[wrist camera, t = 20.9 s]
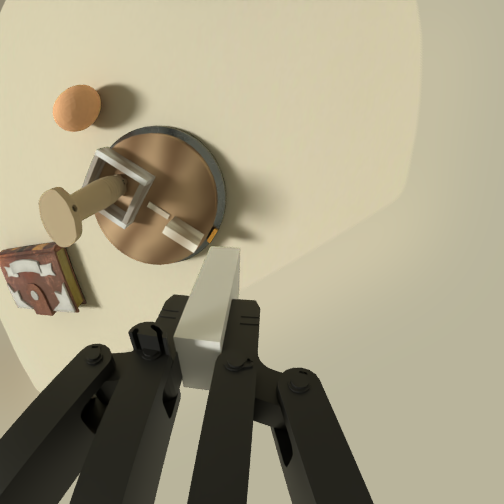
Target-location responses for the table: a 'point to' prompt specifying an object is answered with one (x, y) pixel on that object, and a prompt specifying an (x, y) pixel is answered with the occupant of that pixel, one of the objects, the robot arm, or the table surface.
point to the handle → (77, 207)
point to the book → (41, 278)
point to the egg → (77, 108)
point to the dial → (156, 197)
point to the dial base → (209, 160)
